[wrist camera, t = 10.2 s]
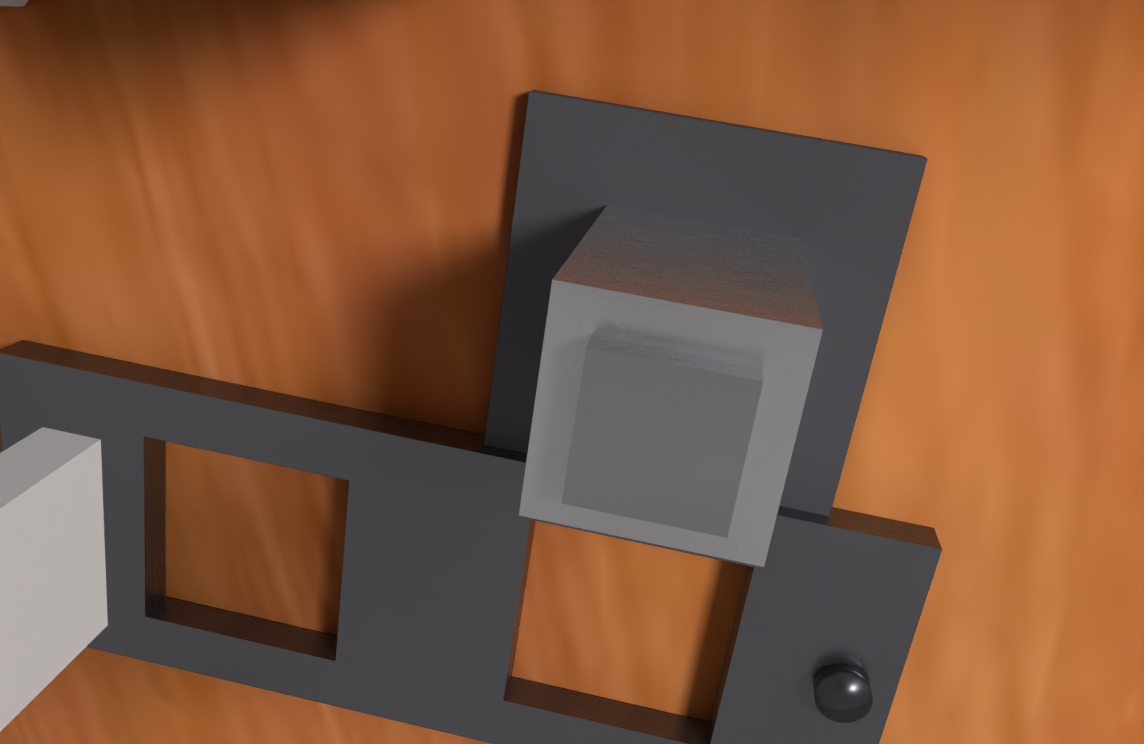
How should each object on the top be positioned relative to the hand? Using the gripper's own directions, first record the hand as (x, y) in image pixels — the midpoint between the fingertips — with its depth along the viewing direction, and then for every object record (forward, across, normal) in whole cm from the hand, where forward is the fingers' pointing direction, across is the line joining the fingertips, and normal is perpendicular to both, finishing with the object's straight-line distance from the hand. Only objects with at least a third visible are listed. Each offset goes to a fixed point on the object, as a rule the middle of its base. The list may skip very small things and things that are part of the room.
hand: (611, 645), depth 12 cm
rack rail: (+16, -6, -11) cm, 20 cm away
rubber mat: (+16, 0, -1) cm, 16 cm away
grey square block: (+16, 0, -1) cm, 16 cm away
